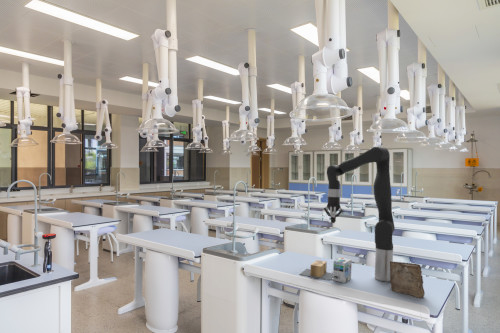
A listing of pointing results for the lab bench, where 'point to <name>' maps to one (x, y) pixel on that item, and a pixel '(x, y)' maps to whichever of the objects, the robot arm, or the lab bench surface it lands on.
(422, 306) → the lab bench surface
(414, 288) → the mineral sample
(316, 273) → the oak block
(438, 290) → the lab bench surface
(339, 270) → the light bulb box
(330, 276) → the mat
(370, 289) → the lab bench surface
